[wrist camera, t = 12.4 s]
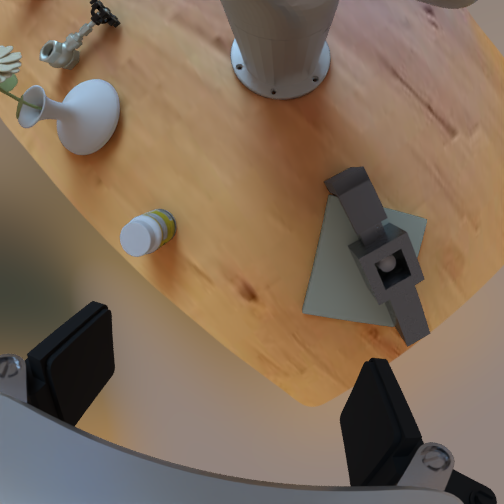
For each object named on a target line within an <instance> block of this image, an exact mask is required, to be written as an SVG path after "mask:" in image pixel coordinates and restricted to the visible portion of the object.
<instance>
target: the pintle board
mask: <svg viewBox="0 0 504 504" xmlns="http://www.w3.org/2000/svg"><path fill="white" fill-rule="evenodd" d="M324 183H325V185H326V187H327V188H328V190H329V192H330V193H333V194H335V195H337V196H333V195H328V200H327V205H326V210H325V214H324V219H323V224H322V228H321V233H320V237H319V242H318V246H317V251H316V255H315V259H314V263H313V268H312V272H311V276H310V280H309V284H308V288H307V292H306V296H305V300H304V304H303V308H302V313H304V314H310V315H316V316H322V317H328V318H335V319H341V320H348V321H354V322H361V323H368V324H375V325H382V326H390V327H394V325H393V322H392V319H391V317H390V314H389V312H388V309H387V307H386V304H385V302H384V303H383V304H381V305H379V304H378V303H377V301H376V300H375V298H374V297H373V295H372V294H371V292H370V291H369V290H368V288H367V287H366V284H365V282H364V280H363V278H362V276H361V273H360V271H359V269H358V267H357V265H356V263H355V261H354V258H353V256H352V254H351V252H350V250H349V248H348V245H350V244H352V243H353V242H355V241H357V240H359V239H358V237H357V235H358V234H360V233H362V232H363V231H365V230H367V229H369V228H371V227H372V226H374V225H376V224H378V223H380V222H381V223H382V225H383V226H384V225H386V224H388V223H391V224H393V225H395V226H397V227H399V228H401V229H403V230H404V231H406V232H407V233H408V236H409V238H410V241H411V243H412V246H413V248H414V251H415V254H416V257H418V254H419V250H420V246H421V243H422V239H423V235H424V231H425V227H426V223H427V219H424V218H421V217H418V216H414V215H410V214H407V213H403V212H399V211H395V210H391V209H387V208H383V206H382V204H381V202H380V200H379V198H378V196H377V193H376V191H375V189H374V187H373V185H372V183H371V181H370V179H369V177H368V175H367V173H366V171H365V169H364V167H350V168H348V169H347V170H345V171H343V172H341V173H339V174H337V175H335V176H333V177H332V178H330V179H328V180H326V181H324ZM356 234H357V235H356ZM395 265H396V259H395V257H394V256H393V255H392V254H391V255H389V256H388V257H386V258H384V259H382V260H380V261H379V262H377V263H375V266H376V269H377V270H378V269H381V270H382V271H384V272H389V271H391V270H393V269H394V267H395Z"/></svg>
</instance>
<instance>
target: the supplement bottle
mask: <svg viewBox="0 0 504 504" xmlns="http://www.w3.org/2000/svg"><path fill="white" fill-rule="evenodd" d="M175 232H176V221H175V219H174V217H173V216H172V214H171V213H169V212H168V211H166V210H163V209H156V210H153V211H150V212H148V213H145V214H142V215H140V216H137V217H135V218H133V219H132V220H131V221H130V222H129V223H128V224H126V225H125V226H124V227H123V229H122V231H121V234H120V242H121V245H122V247H123V249H124V250H125V251H126V252H127V253H128V254H129V255H131V256H135V257H139V256H142V255H144V254H150V253H152V252H154V251H156V250H157V249H158V248H160V247H161V246H163V245H164V244H165V243H167V242H168V241H170V240H171V239H172V238H173V237H174V235H175Z"/></svg>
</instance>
